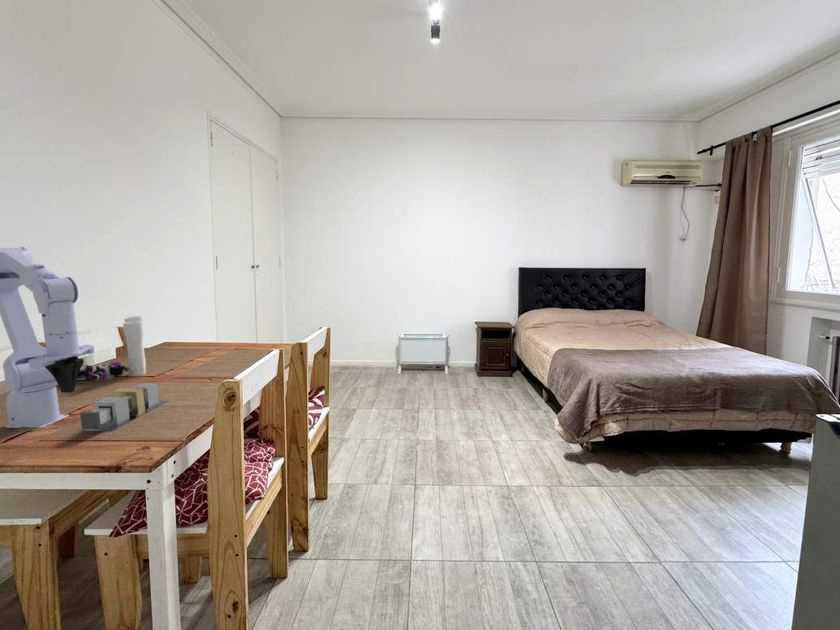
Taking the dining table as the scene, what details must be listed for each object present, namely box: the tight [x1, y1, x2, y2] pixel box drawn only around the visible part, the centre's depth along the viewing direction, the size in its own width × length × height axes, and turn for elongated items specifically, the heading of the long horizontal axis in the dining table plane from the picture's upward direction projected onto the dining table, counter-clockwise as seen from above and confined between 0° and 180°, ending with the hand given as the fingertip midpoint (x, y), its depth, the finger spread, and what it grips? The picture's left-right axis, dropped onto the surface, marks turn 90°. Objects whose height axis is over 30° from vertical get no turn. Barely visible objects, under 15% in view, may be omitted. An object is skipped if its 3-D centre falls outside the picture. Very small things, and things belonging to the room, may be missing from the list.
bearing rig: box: [83, 382, 169, 432], centre depth 113 cm, size 7×21×6 cm, turn 175°
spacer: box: [111, 387, 145, 417], centre depth 113 cm, size 6×2×6 cm, turn 85°
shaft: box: [79, 391, 145, 430], centre depth 110 cm, size 4×19×4 cm, turn 175°
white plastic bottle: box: [122, 315, 147, 377], centre depth 156 cm, size 17×5×18 cm, turn 31°
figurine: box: [76, 361, 131, 384], centre depth 144 cm, size 24×7×29 cm
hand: (68, 391), depth 101 cm, fingers closed
